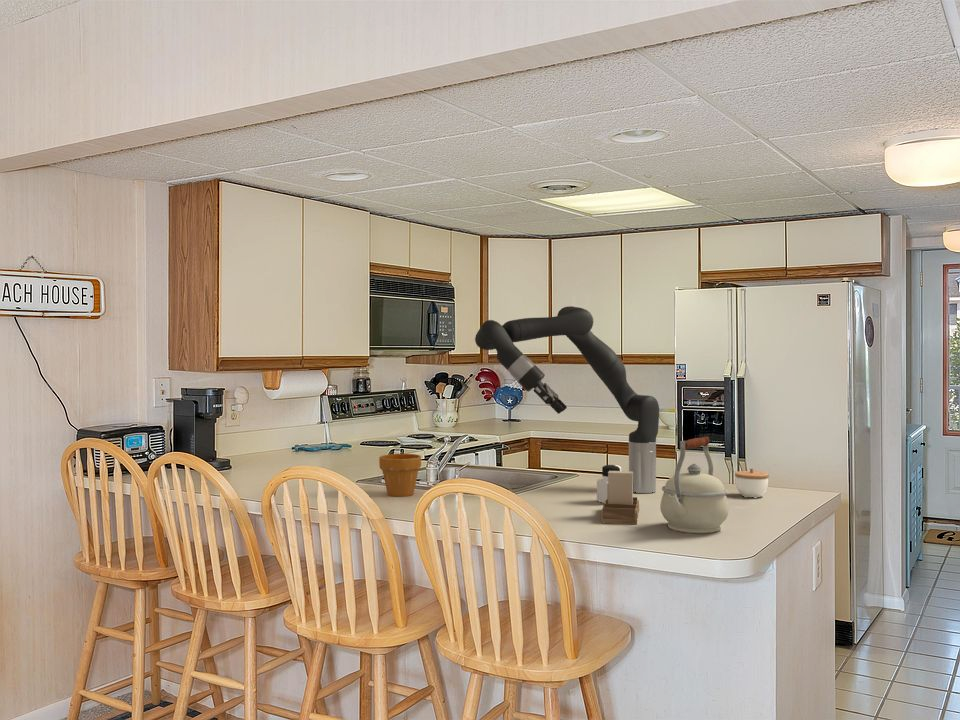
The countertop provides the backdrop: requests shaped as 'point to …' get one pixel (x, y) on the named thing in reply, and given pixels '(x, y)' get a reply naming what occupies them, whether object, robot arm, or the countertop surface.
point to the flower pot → (400, 473)
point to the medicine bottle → (605, 482)
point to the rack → (620, 512)
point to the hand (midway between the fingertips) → (563, 410)
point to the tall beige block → (620, 487)
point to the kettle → (694, 495)
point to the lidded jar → (751, 483)
